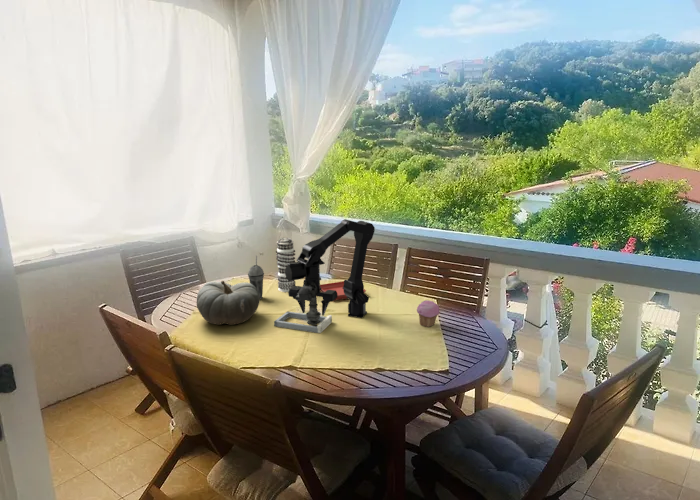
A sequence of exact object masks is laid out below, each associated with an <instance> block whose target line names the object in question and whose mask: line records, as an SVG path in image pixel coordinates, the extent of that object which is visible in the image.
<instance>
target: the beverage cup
mask: <svg viewBox="0 0 700 500" xmlns="http://www.w3.org/2000/svg"><path fill="white" fill-rule="evenodd" d="M247 272H248V273H247V276H248V281H249V283H250V284H252V285H254V286H255V287H256V289H257V291H258V294H259V297H260V300H262V299H263V293H264V276H265V273H264V269H263V268H262V267H261V266H260V265H258V256H257V255H255V264H254V265H252V266H250V268H249V269H248V271H247Z"/></svg>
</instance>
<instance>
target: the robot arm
mask: <svg viewBox="0 0 700 500" xmlns="http://www.w3.org/2000/svg"><path fill="white" fill-rule="evenodd" d="M375 229H376V228H375V225H373V223H371V222H368V221H364V220H358V221H353V220H349V219H346V218H345V219H343V220H341V222H339V223H338V224H337V225H336V226H334V227H333V228H332V229H330V230H329V231H328V232H326V233H325V234H323V235H322V236H321V237H319V238H318V239H314V240H312V241H309V242H307V243H305V244H304V245H303V246H302V247H301V248H302V249H301V252H300V254H299V255H298V257H297V258H296V261H295V262H294V263H288V264H287V265H288V266H287V267H286V270H285V275H286V278H287V280H288V281H293V280H294V281H297V280H303V279H304V280H303V282H302V283H303V284H302V285H301V286H300V285H299V286H298V285H295V286H294V287H292V288H291V289H290V290H289V292H287V293H288V297H291V298H292V300H293V299H294V300H295V301H297V302H298V305H299V307H300V310H301V312H302V313H303V314H305V312H306V302H309V301H310V300H312V298H313V297H314V298H317V297H320V298H322V300H321V301H320V302H321V316H324V317H325V314H326V311H327V309H328V307H329V304H330V303H332V302H335V301H336V300H335V299H336V298H337V297H338V296H337V292H336V291H335V290H327V291H326V292H321V291H320V290H321V287H320V285H321V281H322V277H321V274H320V272H321V271H320V268H321V267H320V266H321V265H324V264H325V261H323V259H321V258H322V257H323V256H324V255H325V254H326V251H327V249H328V248H330V247H331V246H332V245H333V244H335V243H336V242H337V241H339V240H340V239H341V238H343V237H344V236H345V235H346V234H348V233H349V232H353V236H354V240H355V245H354V246H355V247H354V253H353V258H352V263H351V269H350V275H349V277H348V278H347V279H344V280H343V281H344V286H343V288H342V289H344V294H345V295H346V296H347V299H348V300H349V301H348V305H347V309H348V310H347V311H348V314H347V316H348V317H353V318H359V319H360V318H361V319H362V318H364V317H365V315H367V313H368V311H366V310H367V309H366V308H367V304H366V303H369V298H370V297H369V296H368V295H367V294H366V293H364V289H365V285H364V282H363V274H364V268H365V263H366V262H365V261H366V256H367V250H368V246H369V243H370V242H371V241H372V239H373V237H374V235H375ZM334 300H335V301H334Z"/></svg>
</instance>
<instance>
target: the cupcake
mask: <svg viewBox="0 0 700 500" xmlns="http://www.w3.org/2000/svg"><path fill="white" fill-rule="evenodd" d="M440 310H441V309H440V306H439V305H438V304H437V303H435V301H432V300H428V299H427V300H423V301H421V303H419V304H418V306H417V307H416V312H417V314H418V317H419V318H418V319H419V324H420V326H422V327H427V328H430V327H432V326H434V325H435V324H436V319H437V317H438V315H439V314H440V312H441V311H440Z"/></svg>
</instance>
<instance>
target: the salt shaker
mask: <svg viewBox="0 0 700 500" xmlns="http://www.w3.org/2000/svg"><path fill="white" fill-rule="evenodd" d="M317 300H318V299H317V297H316V298H314V297H313V298H312V300H310V301H308V302H309V303H308V307H309V311H307V312H306V313H305V314H306V316H307V318H308V319H309V320H306V325H310V326H317V325H319V324H320V323H321V322H320V321H319V320H318V319H319V318H320V316H322V312H320V311H318V303H317V302H318V301H317Z"/></svg>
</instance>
